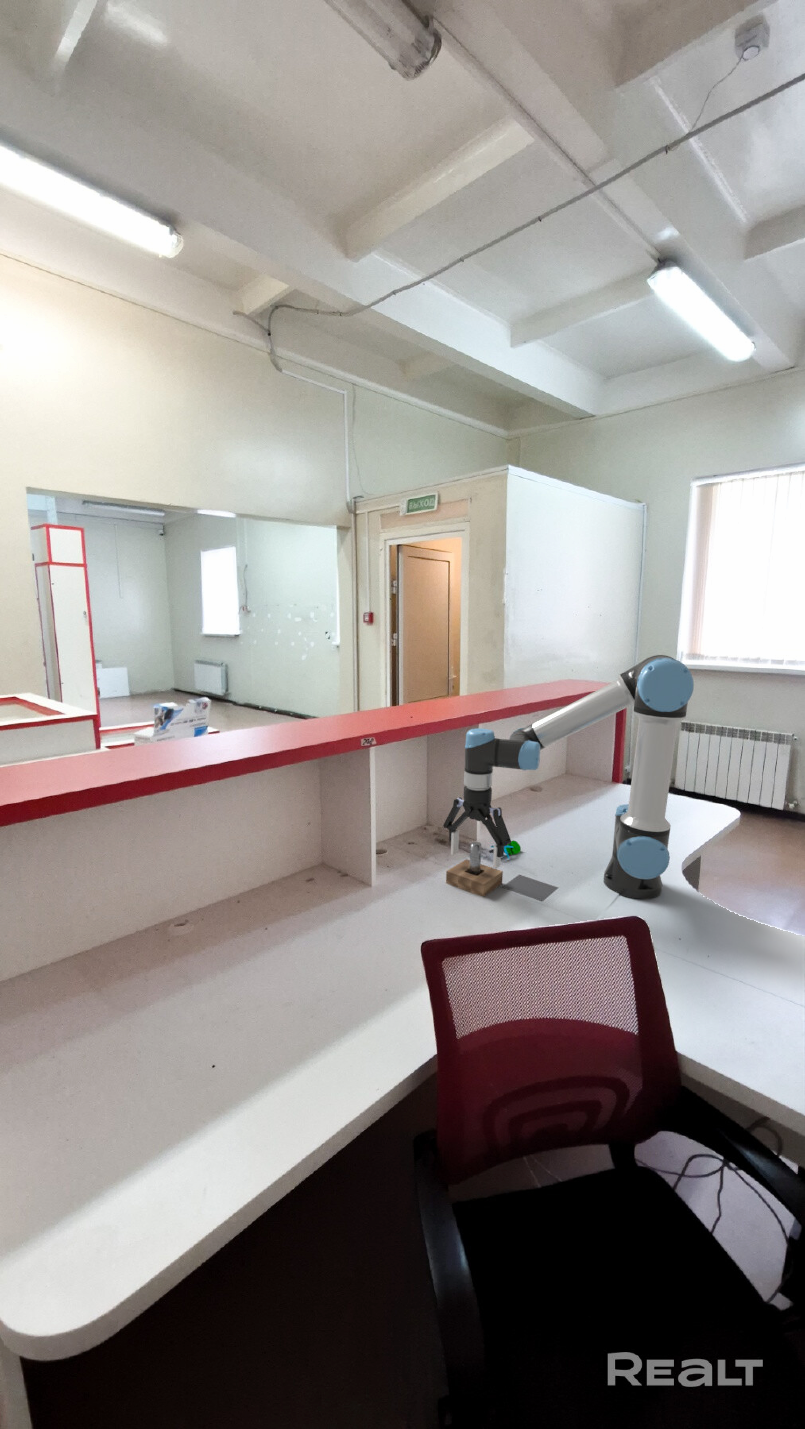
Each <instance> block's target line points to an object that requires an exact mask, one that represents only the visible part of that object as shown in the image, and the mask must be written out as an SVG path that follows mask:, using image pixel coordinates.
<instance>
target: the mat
mask: <svg viewBox="0 0 805 1429" xmlns="http://www.w3.org/2000/svg"><path fill="white" fill-rule="evenodd" d="M501 888H503V889H505V890H508V891H511V892H514V893H517V894H520V895H523V896H526V897H528V898H531V899H534V900H536V901H539V902H544V900H546V899H547V898H548V897H549V896H550V895H552V894H553V893H554V892H555V891H556V890H558V889H559V887H558V886H555V885H552V884H548V883H546V882H543V881H539V880H537V879H533V878H531V877H527V876H525V875H522V874H518V875H517V876H515V877H513V878H512V879H511V880H510V881H508V882H507V883H505V884H504V885H503V886H501Z"/></svg>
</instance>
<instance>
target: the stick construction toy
mask: <svg viewBox="0 0 805 1429" xmlns="http://www.w3.org/2000/svg"><path fill="white" fill-rule="evenodd" d="M490 848H492V849H490V850H488V852H489V853H494V845H490ZM521 850H522V849H521V845H520V844H519V843H518V842H517V841H516V840H511V843H510V844H508V845H507V846H504V854H505V855H506V858H507V859H509V860H510V856H513V855H517V854H519V853H521ZM501 860H503V858H502V857H501Z"/></svg>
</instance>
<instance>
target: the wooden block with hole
mask: <svg viewBox="0 0 805 1429" xmlns="http://www.w3.org/2000/svg"><path fill="white" fill-rule="evenodd" d="M469 869H470V859H467V858H466V859H464V860H463V861H461V862H459V863H457V864H456V865H454V866H452V867H451V868H449V869H447V870H445V872H446V874H445V875H446V876H445V880H446V881H445V884H447V885H450V886H453V887H455V888H457V889H458V888H459V889H461V890H463V891H466V892H469V893H471V894H474V895H477V896H480V897H482V898H484V897H486V895H488V894H489V893H491V892H492V891H494V890H495V889H497V888H499V887H500V886H501V885H502V884H503V874H504V872H503V871H504V870H503V871H502V870H499V869H498V868H497V869H493V867H491V866H487V865H484V864H482V863H481V868H480V874H479V875H478V876H476V875H473V874H470V873H469Z"/></svg>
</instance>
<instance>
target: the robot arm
mask: <svg viewBox="0 0 805 1429" xmlns="http://www.w3.org/2000/svg"><path fill="white" fill-rule="evenodd" d="M694 685H695V684H694V678H693V676H692V673H691V671H690V669H689V668H688V667H687V666H686V665H685V664H684V663H683V662H681V661H679V660H677V659H675V658H673V657H671V656H669V655H666V654H655V655H652V656H649V657H647V658H645V659H644V660H642V661H640V662H639V663H638V664H635V665H634V666H632V667H631V668H629V669H627V670H626V671H623V672H622V673H620V674H619V675H618V677H617V679H616V680H615V681H613V682H611V683H609V684H607V685H605V686H602V687H601V688H599V689H597V690H595V691H594V692H591V693H589V694H588V695H585V696H584V697H581V698H580V699H578V700H575V701H574V702H572V703H570V704H568V705H566V706H564V707H563V708H560V709H558V710H557V711H554V712H553V713H551V714H549V715H547V716H545V717H542V718H541V719H538V720H536V721H535V722H532V723H531V724H529V725H527V726H525V727H520V728H517V729H516V730H514V731H513V732H512V733H511V735H510V737H509V739H507V738H506V739H503V738H497V737H496V736H495V732H494V731H493V730H491V729H489V728H488V729H487V728H479V727H478V728H471V729H469V730H468V731H467V732H466V734H465V736H466V737H465V745H464V772H463V773H464V776H463V785H464V787H463V798H462V797H461V796H460V797H457V798H455V799H453V803H452V807H451V809H450V811H449V813H448V815H447V817H446V819H445V821H444V823H443V824H442V826H443V827H442V828H444V829H447V830H448V833H449V834H448V841H449V842H450V855H451V856H454V855H456V854H457V853H459V844H460V843H459V842H460V839H459V838H460V830H458V828H459V827H460V826H461V825H462V824H464V822H465V821H466V820H467V819H468V818H469V819H470V820H475V821H477V822H481V823H482V824H483V825H484V826H485V828H486V829H487V831H488V832H489V834H490V836H491V838H492V839H493V841H494V843H495V844H494V845H493V846H494V848H493V849H494V852H493V856H492V868H493V869H497V870H498V868H499V867H501V861H502V859H501V858H502V857H503V856H504V854H505V853H504V846H507V845H508V844H510V843H511V841H512V839H511V836H510V834H509V831H508V828H507V825H506V823H505V820H504V818H503V811H502V810H503V809H502V807H499V806H498V807H497V808H496V807H492V805H491V804H492V794H493V788H492V786H493V771H494V770H493V768H503V769H512V770H522V771H537V770H538V769H539V767H540V758H541V750H543V749H545V748H546V747H549V746H551V745H553V744H555V743H557V742H560V741H561V740H563V739H565V738H567V737H570V736H571V735H573V734H576V733H577V732H579V731H582V730H583V729H586V728H588V727H590V726H592V725H595V724H596V723H598V722H600V721H602V720H604V719H606V718H608V717H610V716H613V715H614V714H617V713H619V712H620V711H622V710H624V709H625V710H626V708H629V707H633V710H632V711H633V713H634V714H635V716H636V717H637V718H638V726H637V734H636V741H635V742H636V743H635V749H634V750H635V751H634V759H633V764H632V765H633V767H632V774H631V775H632V776H631V783H630V789H629V790H630V791H629V800H628V803H626V804H620V805H618V806H617V807H616V809H615V810H616V811H615V813H614V817H615V818H614V819H615V821H614V829H613V830H614V831H613V840H612V841H613V844H612V853H611V854H612V855H611V858H610V860H609V862H608V864H607V866H606V868H605V870H604V874H603V884H604V885H605V886H606V887H607V889H609V890H611V891H612V892H614V893H617V894H618V895H621V896H622V897H627V898H632V899H638V900H639V899H640V900H648V899H655V898H658V897H659V896H660V895H661V894H662V892H663V880H662V877H661V875H662V874H664V873H665V871H666V870H667V868H668V867H669V866H670V859H671V856H670V852H669V849H668V848H669V840H670V833H671V823H670V822H669V821H668V820H667V819H666V812H667V805H668V798H669V790H670V784H671V775H672V769H673V768H672V767H673V760H674V755H675V754H674V752H675V746H676V739H677V732H678V724H680V722H681V721H682V720H684V719H686V717H687V710H688V705H689V704H688V703H689V701H690V699H691V697H692V696H693V692H694ZM461 807H462V808H463V809H464V811H463V813H462V814H460V816H459V817H458V818H457V819H456V817H457V815H458V814H459V811H461V810H460V809H461ZM455 819H456V820H455ZM454 820H455V821H454Z"/></svg>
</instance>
